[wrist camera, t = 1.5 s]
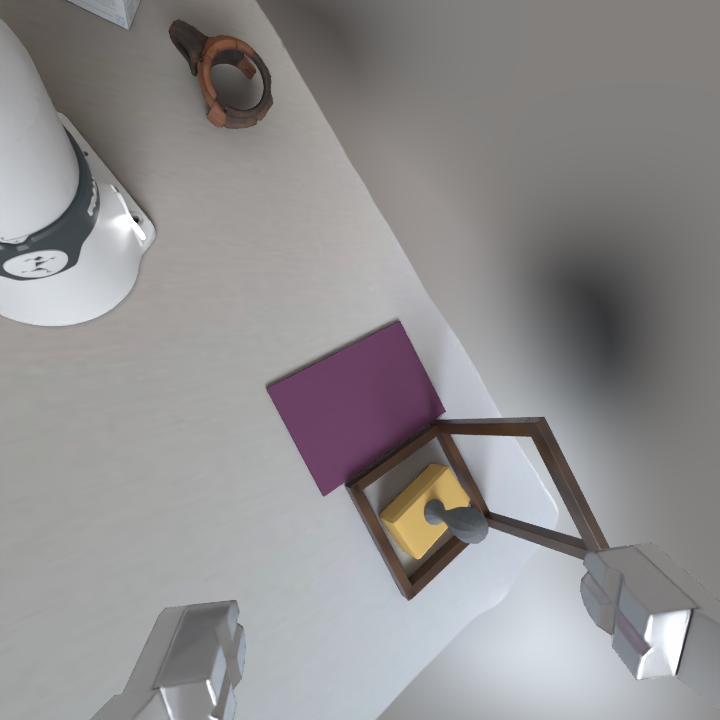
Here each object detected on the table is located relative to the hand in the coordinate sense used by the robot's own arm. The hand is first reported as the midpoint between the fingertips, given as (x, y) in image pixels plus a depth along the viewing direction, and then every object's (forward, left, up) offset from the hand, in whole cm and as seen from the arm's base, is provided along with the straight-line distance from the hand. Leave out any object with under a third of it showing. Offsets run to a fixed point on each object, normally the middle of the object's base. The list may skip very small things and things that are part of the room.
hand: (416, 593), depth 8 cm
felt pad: (+1, +15, -34) cm, 38 cm away
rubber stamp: (+16, +15, -35) cm, 41 cm away
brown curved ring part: (-41, +17, -35) cm, 57 cm away
